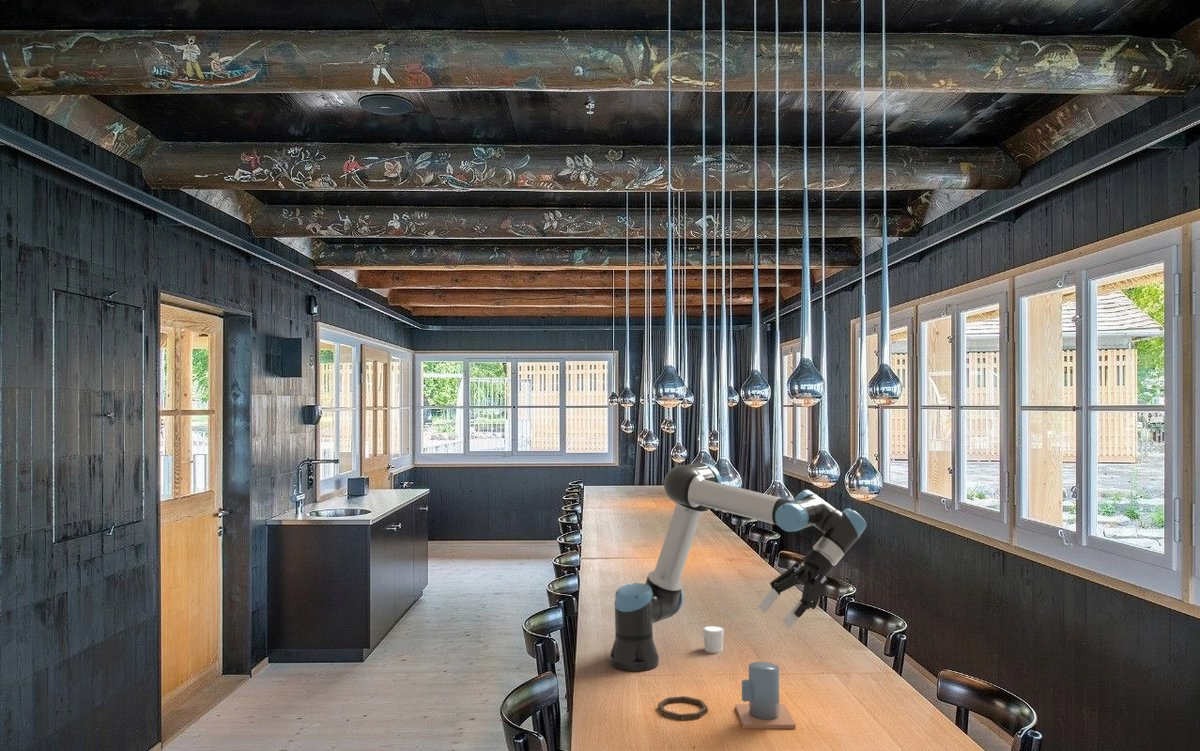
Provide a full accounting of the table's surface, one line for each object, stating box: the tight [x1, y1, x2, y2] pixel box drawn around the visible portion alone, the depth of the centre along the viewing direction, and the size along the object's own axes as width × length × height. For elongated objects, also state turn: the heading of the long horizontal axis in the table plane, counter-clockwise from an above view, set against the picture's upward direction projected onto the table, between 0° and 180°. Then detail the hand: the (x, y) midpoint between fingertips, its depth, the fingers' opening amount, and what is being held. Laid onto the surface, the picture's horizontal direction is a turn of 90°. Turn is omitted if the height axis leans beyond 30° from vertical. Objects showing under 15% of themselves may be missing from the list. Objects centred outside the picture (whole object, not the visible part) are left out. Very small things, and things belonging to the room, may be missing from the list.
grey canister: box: [741, 661, 780, 720], centre depth 200 cm, size 10×8×12 cm
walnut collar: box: [657, 695, 709, 721], centre depth 206 cm, size 12×12×1 cm
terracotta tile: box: [734, 703, 797, 730], centre depth 200 cm, size 13×13×1 cm
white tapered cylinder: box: [702, 625, 725, 654], centre depth 255 cm, size 7×7×7 cm
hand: (773, 616), depth 209 cm, fingers open, 13 cm apart
